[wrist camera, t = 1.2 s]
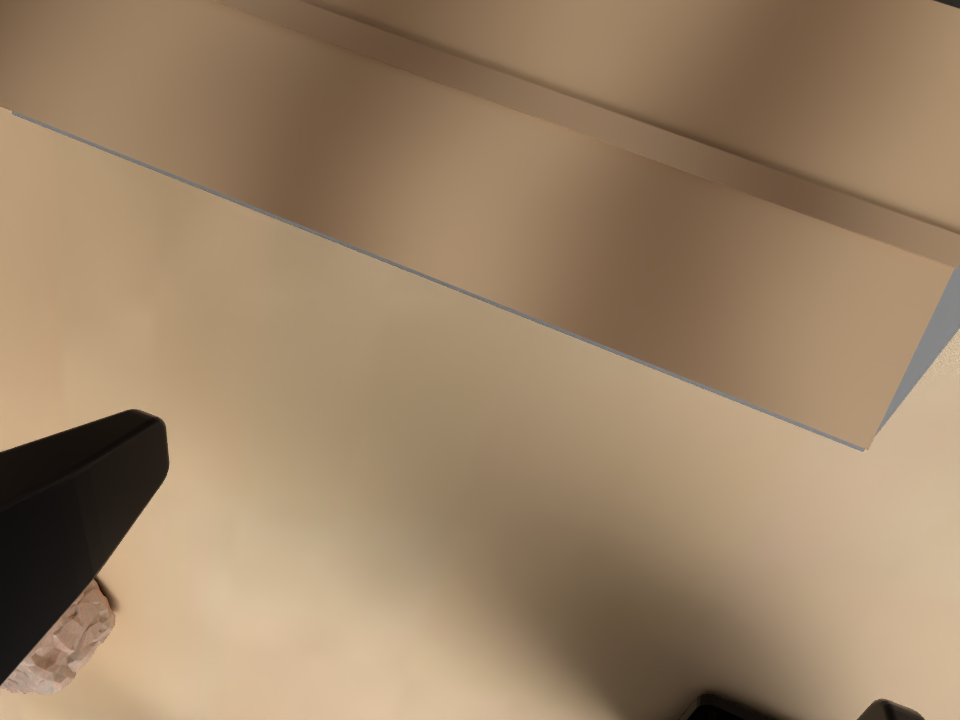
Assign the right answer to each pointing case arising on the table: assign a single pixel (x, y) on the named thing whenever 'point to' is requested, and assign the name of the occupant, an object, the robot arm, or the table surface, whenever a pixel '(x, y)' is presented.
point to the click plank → (569, 159)
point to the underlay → (950, 315)
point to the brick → (65, 645)
